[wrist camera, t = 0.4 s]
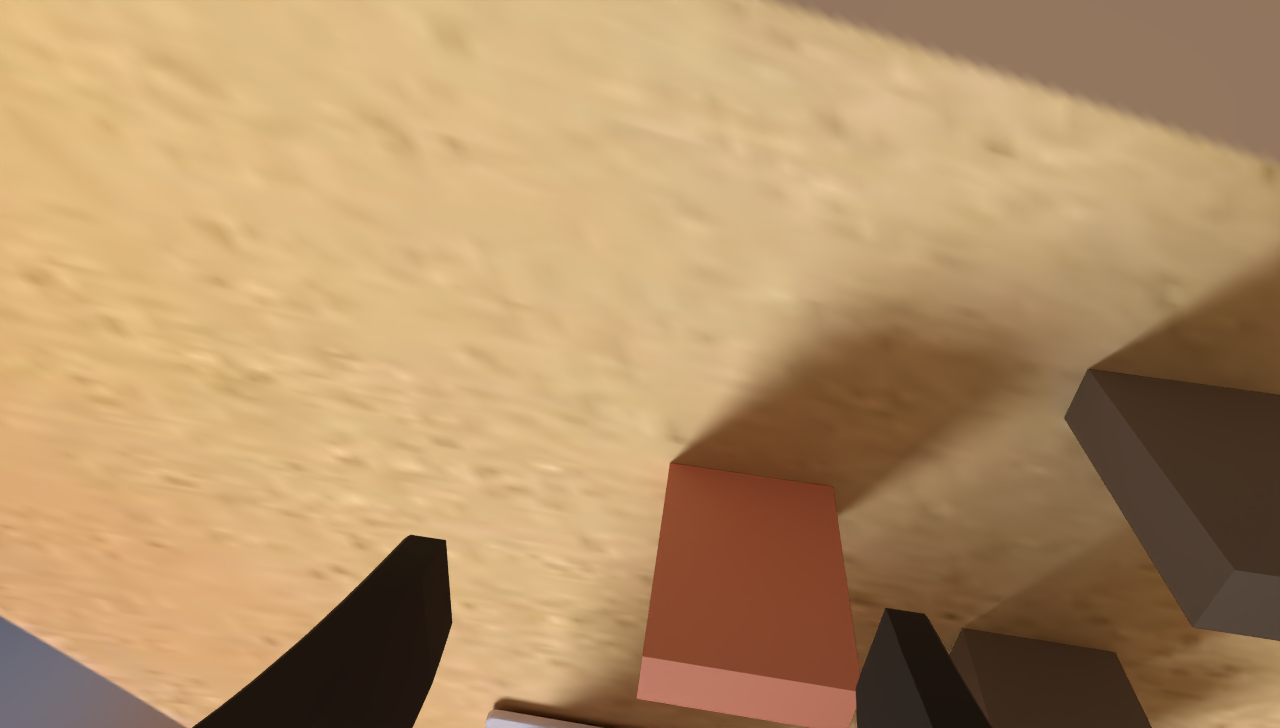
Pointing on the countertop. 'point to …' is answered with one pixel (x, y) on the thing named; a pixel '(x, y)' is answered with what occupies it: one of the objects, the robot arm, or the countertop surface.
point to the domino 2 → (1045, 683)
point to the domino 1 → (750, 601)
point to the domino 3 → (1193, 489)
